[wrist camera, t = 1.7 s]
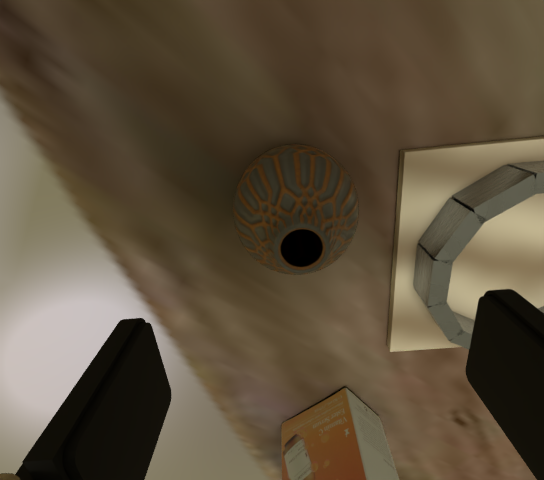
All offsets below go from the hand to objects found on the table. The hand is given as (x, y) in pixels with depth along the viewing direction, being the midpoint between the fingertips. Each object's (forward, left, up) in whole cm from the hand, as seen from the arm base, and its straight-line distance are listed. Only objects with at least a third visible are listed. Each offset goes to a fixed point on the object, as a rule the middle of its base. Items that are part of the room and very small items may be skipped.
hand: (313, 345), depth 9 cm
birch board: (+5, +15, -14) cm, 21 cm away
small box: (+22, +2, -14) cm, 26 cm away
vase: (-1, 0, -14) cm, 14 cm away
